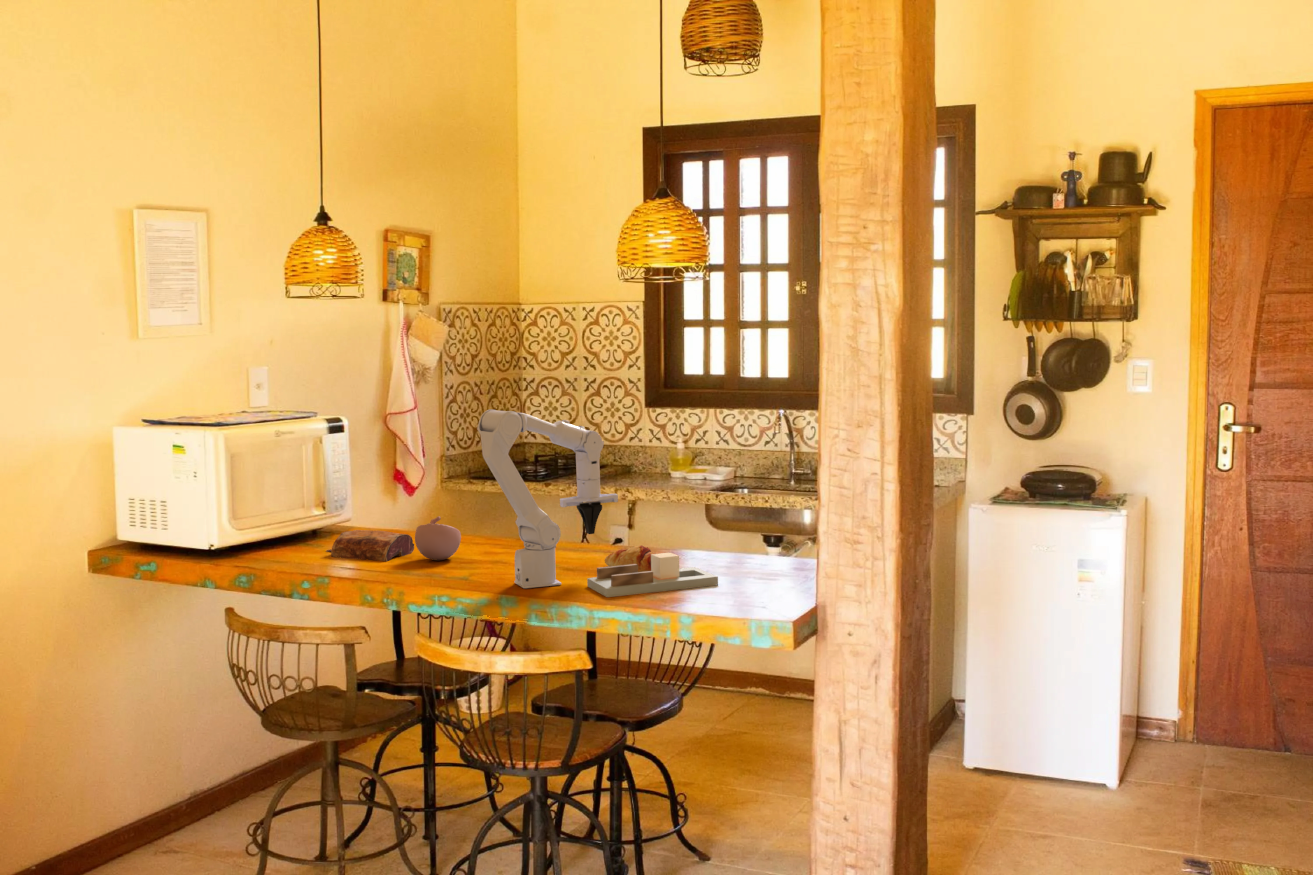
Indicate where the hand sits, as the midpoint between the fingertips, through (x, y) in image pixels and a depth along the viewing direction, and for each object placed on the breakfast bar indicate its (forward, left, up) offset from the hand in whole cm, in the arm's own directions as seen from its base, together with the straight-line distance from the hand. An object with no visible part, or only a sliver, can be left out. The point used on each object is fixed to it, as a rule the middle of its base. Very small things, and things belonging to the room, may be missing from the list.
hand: (590, 533), depth 315 cm
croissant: (+12, 0, -11) cm, 16 cm away
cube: (+12, -19, -8) cm, 24 cm away
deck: (+9, -19, -10) cm, 23 cm away
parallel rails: (+2, -19, -8) cm, 20 cm away
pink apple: (-29, +38, -11) cm, 49 cm away
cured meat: (-45, +58, -11) cm, 74 cm away
